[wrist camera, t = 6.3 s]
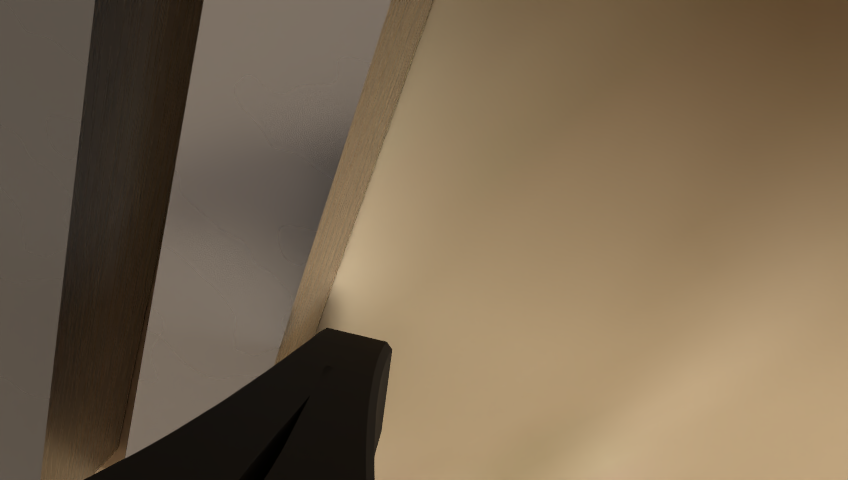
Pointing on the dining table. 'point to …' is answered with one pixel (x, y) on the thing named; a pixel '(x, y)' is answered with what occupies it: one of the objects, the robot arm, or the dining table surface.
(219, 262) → the tong arm
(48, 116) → the tong base
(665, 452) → the dining table surface
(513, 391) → the dining table surface
